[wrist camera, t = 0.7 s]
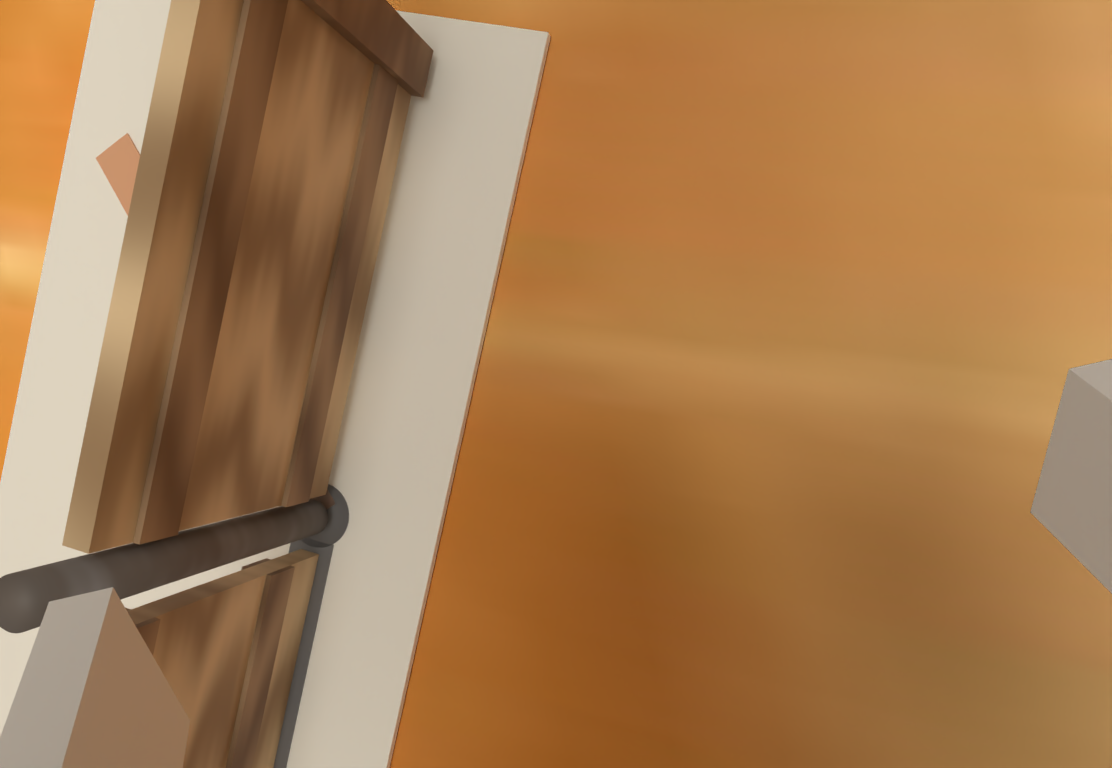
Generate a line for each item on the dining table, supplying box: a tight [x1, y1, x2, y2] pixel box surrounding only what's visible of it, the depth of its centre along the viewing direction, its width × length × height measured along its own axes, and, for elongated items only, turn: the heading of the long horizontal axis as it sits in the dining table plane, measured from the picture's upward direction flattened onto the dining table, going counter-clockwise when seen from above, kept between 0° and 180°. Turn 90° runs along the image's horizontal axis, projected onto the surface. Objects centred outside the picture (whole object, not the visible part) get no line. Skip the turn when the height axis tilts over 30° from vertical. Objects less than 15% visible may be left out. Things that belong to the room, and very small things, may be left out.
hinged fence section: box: [0, 0, 433, 633], centre depth 27 cm, size 19×2×14 cm, turn 167°
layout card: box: [0, 0, 551, 768], centre depth 36 cm, size 36×20×1 cm, turn 167°
